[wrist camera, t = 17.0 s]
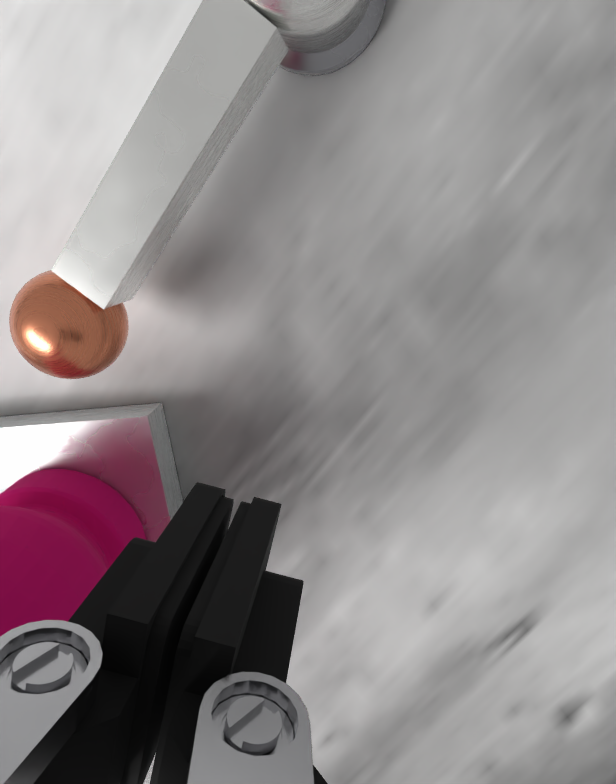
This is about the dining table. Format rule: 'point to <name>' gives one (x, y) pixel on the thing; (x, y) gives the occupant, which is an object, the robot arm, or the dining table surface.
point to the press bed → (146, 421)
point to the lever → (163, 174)
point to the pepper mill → (58, 543)
